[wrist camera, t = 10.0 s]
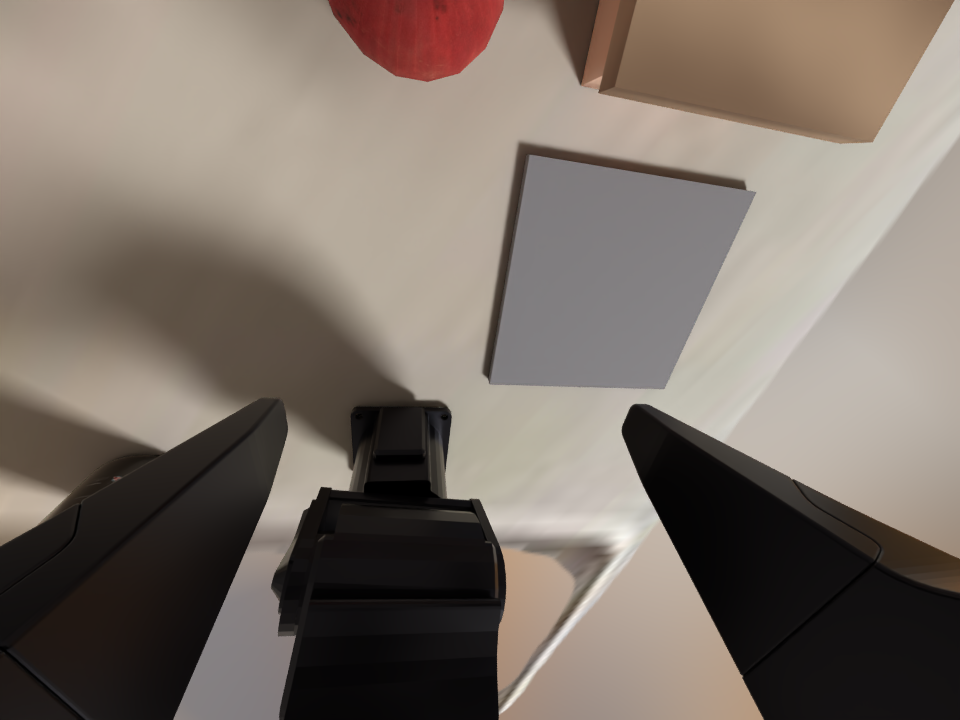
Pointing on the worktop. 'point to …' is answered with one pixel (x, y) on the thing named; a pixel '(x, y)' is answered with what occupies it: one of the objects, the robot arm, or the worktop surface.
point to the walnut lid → (773, 60)
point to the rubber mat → (608, 274)
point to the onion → (419, 33)
